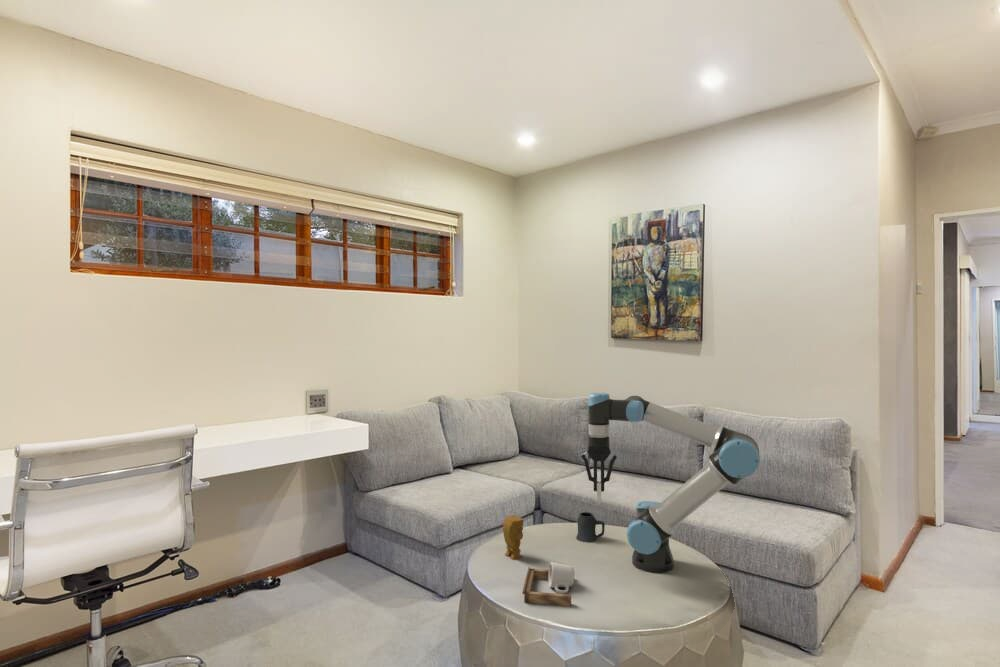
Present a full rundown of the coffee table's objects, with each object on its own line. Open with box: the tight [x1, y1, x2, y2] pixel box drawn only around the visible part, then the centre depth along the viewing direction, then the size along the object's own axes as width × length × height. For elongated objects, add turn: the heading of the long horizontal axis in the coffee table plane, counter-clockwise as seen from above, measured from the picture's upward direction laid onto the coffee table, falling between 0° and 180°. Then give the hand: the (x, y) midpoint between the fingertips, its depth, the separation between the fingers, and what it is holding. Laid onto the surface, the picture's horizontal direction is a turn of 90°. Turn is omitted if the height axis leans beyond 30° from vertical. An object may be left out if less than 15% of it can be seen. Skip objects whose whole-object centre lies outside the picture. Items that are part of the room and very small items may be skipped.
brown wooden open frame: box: [522, 566, 572, 607], centre depth 185 cm, size 16×19×4 cm
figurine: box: [502, 514, 524, 561], centre depth 213 cm, size 7×7×15 cm
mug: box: [575, 511, 606, 543], centre depth 229 cm, size 12×9×11 cm
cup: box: [547, 561, 575, 594], centre depth 187 cm, size 11×8×8 cm
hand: (598, 500), depth 199 cm, fingers closed
